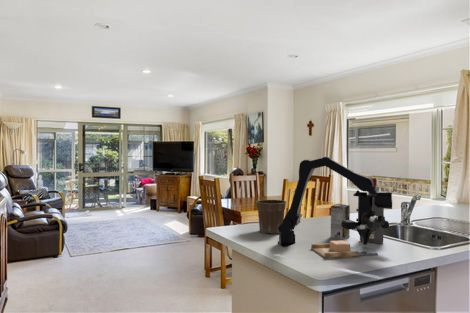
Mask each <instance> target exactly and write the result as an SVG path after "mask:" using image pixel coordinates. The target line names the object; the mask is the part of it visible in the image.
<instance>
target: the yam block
mask: <svg viewBox="0 0 470 313" xmlns="http://www.w3.org/2000/svg"><path fill="white" fill-rule="evenodd" d="M329 243H330V250H332V251H333V252H350V247H351V243H349V242H347V241H345V240H344V239H340V240H330V241H329Z"/></svg>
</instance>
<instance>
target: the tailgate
mask: <svg viewBox="0 0 470 313" xmlns="http://www.w3.org/2000/svg"><path fill="white" fill-rule="evenodd" d="M351 251H358V252H359V257H371V256H378V255H379V253H378V252H376V251H374V250H372V249H370V248H368V247H366V246H365V245H359V246H356V245H355V246H350V252H351Z"/></svg>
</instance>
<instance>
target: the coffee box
mask: <svg viewBox="0 0 470 313" xmlns="http://www.w3.org/2000/svg"><path fill="white" fill-rule="evenodd" d="M350 207H351V205H349V204H343V203H342V204H341V203H338V204H334V205H331V206H330V238H335V239H340V240H346V239H349V238H350V231H351V229H346V228H343V227H341V223H342V221H343V220H351V219H350V216H351V215H350V211H351V210H350V209H351V208H350Z"/></svg>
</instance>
